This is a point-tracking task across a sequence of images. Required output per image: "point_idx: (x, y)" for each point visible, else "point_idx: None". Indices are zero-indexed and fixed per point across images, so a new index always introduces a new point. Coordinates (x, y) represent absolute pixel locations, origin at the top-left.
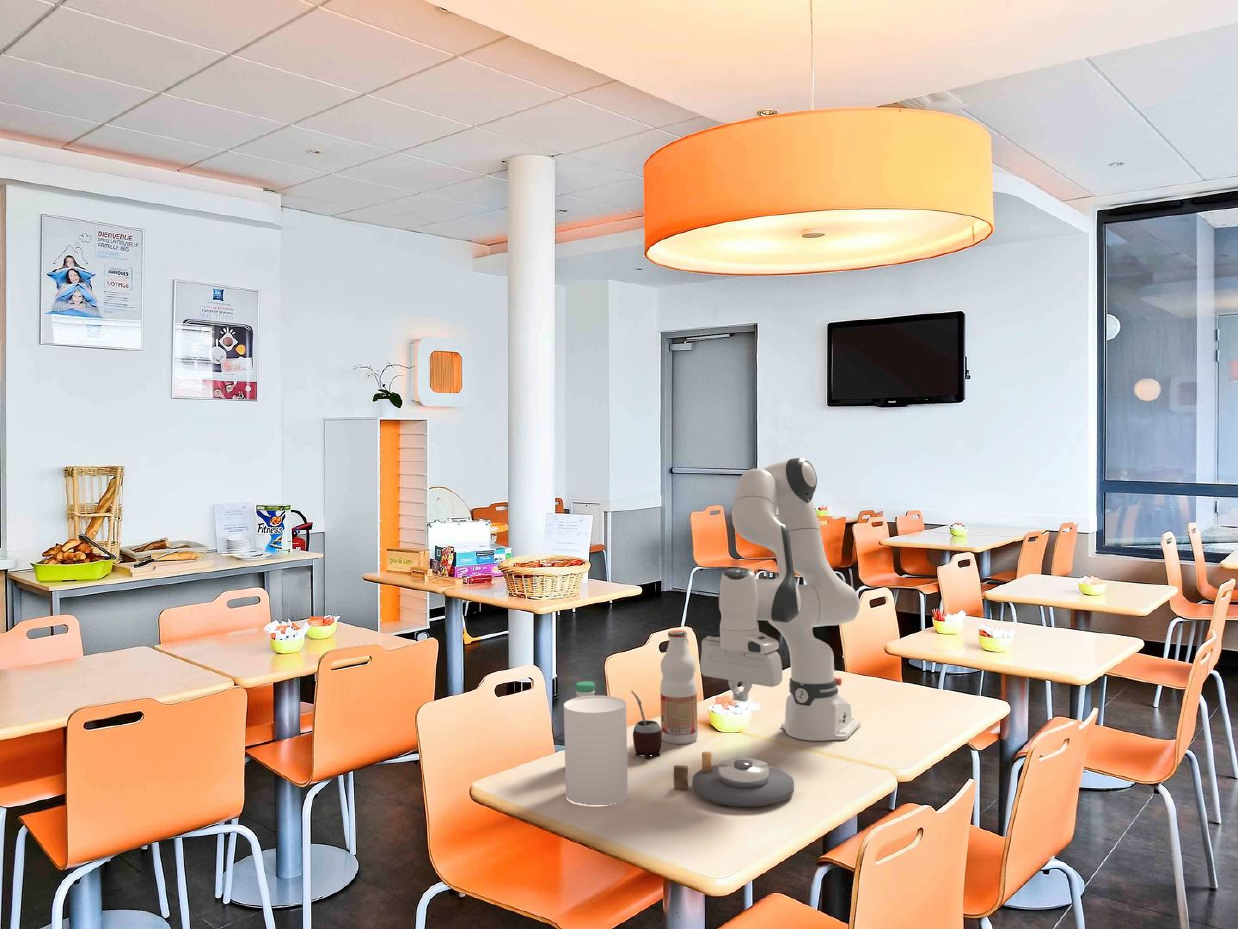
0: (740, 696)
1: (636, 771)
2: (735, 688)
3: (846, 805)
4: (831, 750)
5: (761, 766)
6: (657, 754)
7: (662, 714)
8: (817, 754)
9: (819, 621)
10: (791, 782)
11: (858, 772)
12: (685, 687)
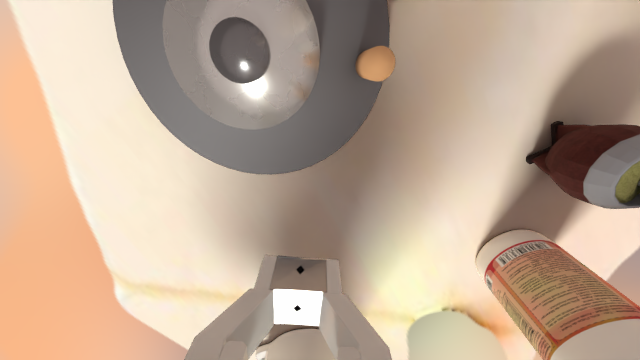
0: (282, 274)
1: (564, 32)
2: (334, 332)
3: (50, 105)
4: None
5: (200, 83)
6: (535, 156)
7: (598, 276)
8: None
9: None
10: (153, 105)
11: (159, 257)
12: None
